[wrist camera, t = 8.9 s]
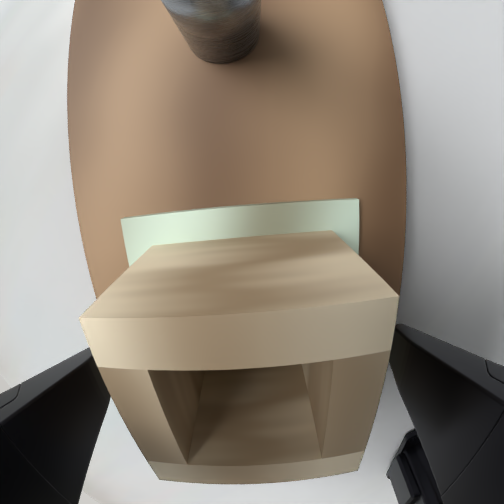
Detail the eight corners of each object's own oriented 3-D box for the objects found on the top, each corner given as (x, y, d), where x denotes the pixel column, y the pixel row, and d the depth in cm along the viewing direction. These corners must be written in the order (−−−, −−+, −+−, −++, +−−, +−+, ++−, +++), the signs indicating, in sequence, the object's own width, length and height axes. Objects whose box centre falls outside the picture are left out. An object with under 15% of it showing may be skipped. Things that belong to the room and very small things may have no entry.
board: (355, -36, 8) (367, -55, 6) (372, 371, 14) (383, 393, 12) (92, -8, 8) (75, -23, 6) (143, 385, 14) (133, 408, 12)
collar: (332, 230, 10) (399, 296, 5) (328, 372, 11) (357, 470, 7) (152, 245, 10) (78, 317, 5) (184, 382, 12) (159, 479, 7)
